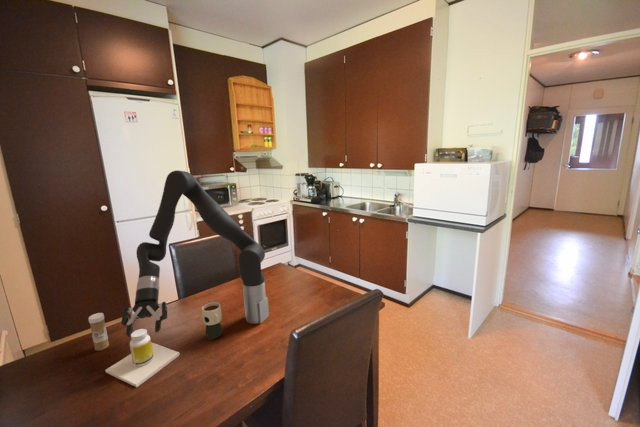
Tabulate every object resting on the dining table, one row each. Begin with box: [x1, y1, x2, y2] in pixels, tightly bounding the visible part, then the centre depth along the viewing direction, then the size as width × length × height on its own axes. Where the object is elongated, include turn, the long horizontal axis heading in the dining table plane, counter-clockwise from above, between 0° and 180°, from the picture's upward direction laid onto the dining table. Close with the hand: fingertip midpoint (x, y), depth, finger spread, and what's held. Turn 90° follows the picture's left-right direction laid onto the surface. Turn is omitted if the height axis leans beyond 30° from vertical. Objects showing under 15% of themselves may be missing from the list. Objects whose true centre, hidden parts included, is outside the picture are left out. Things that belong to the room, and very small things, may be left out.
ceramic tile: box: [105, 341, 180, 388], centre depth 101 cm, size 16×16×1 cm
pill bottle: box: [129, 328, 153, 366], centre depth 100 cm, size 6×6×11 cm
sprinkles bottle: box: [88, 312, 110, 351], centre depth 109 cm, size 5×5×14 cm
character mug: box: [201, 301, 223, 341], centre depth 114 cm, size 11×7×13 cm, turn 44°
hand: (143, 334), depth 102 cm, fingers open, 8 cm apart
